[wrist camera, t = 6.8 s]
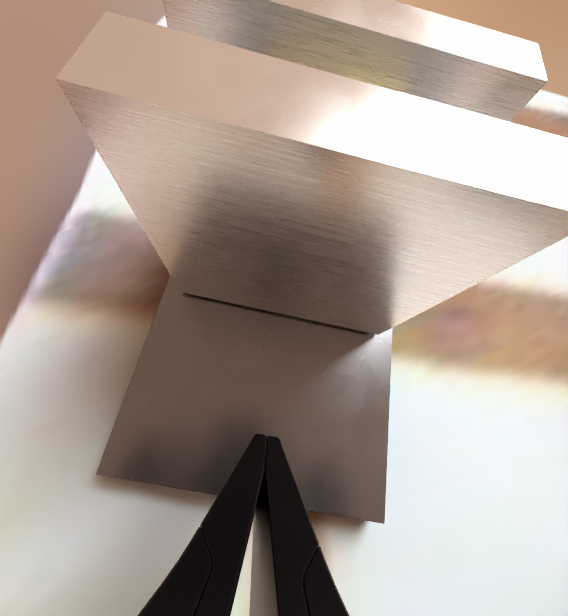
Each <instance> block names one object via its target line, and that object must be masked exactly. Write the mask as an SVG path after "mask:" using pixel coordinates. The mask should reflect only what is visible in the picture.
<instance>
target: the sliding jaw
mask: <svg viewBox="0 0 568 616" xmlns="http://www.w3.org/2000/svg"><path fill="white" fill-rule="evenodd" d="M56 80H57V82H58V84H59V86H60V87H61V89H62V91H63V92H64V94H65V96H66V98H67V99H68V101H69V103H70V104H71V106H72V108H73V109H74V111H75V113H76V115H77V116H78V118H79V120H80V121H81V123H82V125H83V126H84V128H85V130H86V132H87V133H88V135H89V137H90V139H91V140H92V142H93V144H94V145H95V147H96V149H97V151H98V152H99V154H100V156H101V157H102V159H103V161H104V162H105V164H106V166H107V168H108V169H109V171H110V173H111V174H112V176H113V178H114V180H115V181H116V183H117V185H118V186H119V188H120V190H121V192H122V193H123V195H124V197H125V198H126V200H127V202H128V204H129V205H130V207H131V209H132V210H133V212H134V214H135V215H136V217H137V219H138V221H139V222H140V224H141V226H142V227H143V229H144V231H145V233H146V234H147V236H148V238H149V239H150V241H151V243H152V245H153V246H154V248H155V250H156V251H157V253H158V255H159V256H160V258H161V260H162V262H163V263H164V265H165V267H166V268H167V270H168V272H169V274H170V275H171V277H172V279H173V280H174V282H175V284H176V286H177V287H178V289H179V291H180V292H183V293H187V294H192V295H196V296H201V297H206V298H210V299H215V300H220V301H224V302H229V303H233V304H238V305H243V306H247V307H252V308H256V309H261V310H266V311H270V312H275V313H280V314H284V315H289V316H293V317H298V318H303V319H307V320H312V321H317V322H321V323H326V324H330V325H335V326H340V327H344V328H349V329H353V330H358V331H363V332H367V333H372V334H377V335H379V334H381V333H383V332H385V331H387V330H389V329H391V328H393V327H395V326H397V325H398V324H400V323H402V322H404V321H406V320H408V319H410V318H412V317H414V316H416V315H418V314H420V313H422V312H423V311H425V310H427V309H429V308H431V307H433V306H435V305H437V304H439V303H441V302H443V301H445V300H446V299H448V298H450V297H452V296H454V295H456V294H458V293H460V292H462V291H464V290H466V289H468V288H470V287H471V286H473V285H475V284H477V283H479V282H481V281H483V280H485V279H487V278H489V277H491V276H493V275H494V274H496V273H498V272H500V271H502V270H504V269H506V268H508V267H510V266H512V265H514V264H516V263H518V262H519V261H521V260H523V259H525V258H527V257H529V256H531V255H533V254H535V253H537V252H539V251H541V250H542V249H544V248H546V247H548V246H550V245H552V244H554V243H556V242H558V241H560V240H562V239H564V238H566V237H567V236H568V138H565V137H561V136H558V135H554V134H550V133H547V132H543V131H540V130H536V129H532V128H529V127H525V126H521V125H518V124H514V123H511V122H507V121H503V120H500V119H496V118H493V117H489V116H485V115H482V114H478V113H474V112H471V111H467V110H464V109H460V108H456V107H453V106H449V105H445V104H442V103H438V102H435V101H431V100H427V99H424V98H420V97H416V96H413V95H409V94H406V93H402V92H398V91H395V90H391V89H387V88H384V87H380V86H377V85H373V84H369V83H366V82H362V81H358V80H355V79H351V78H348V77H344V76H340V75H337V74H333V73H329V72H326V71H322V70H319V69H315V68H311V67H308V66H304V65H300V64H297V63H293V62H290V61H286V60H282V59H279V58H275V57H271V56H268V55H264V54H261V53H257V52H253V51H250V50H246V49H243V48H239V47H235V46H232V45H228V44H224V43H221V42H217V41H214V40H210V39H206V38H203V37H199V36H195V35H192V34H188V33H185V32H181V31H177V30H174V29H170V28H166V27H163V26H159V25H156V24H152V23H148V22H145V21H141V20H137V19H134V18H130V17H127V16H123V15H119V14H115V13H112V12H108V11H106V12H105V14H104V15H103V17H102V18H101V19H100V20H99V22H98V23H97V24H96V26H95V27H94V28H93V30H92V31H91V32H90V33H89V35H88V36H87V37H86V39H85V40H84V41H83V43H82V44H81V46H80V47H79V48H78V49H77V51H76V52H75V53H74V55H73V56H72V57H71V59H70V60H69V61H68V62H67V64H66V65H65V66H64V68H63V69H62V71H61V72H60V73H59V74H58V76H57V77H56Z"/></svg>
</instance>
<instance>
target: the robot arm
mask: <svg viewBox="0 0 568 616" xmlns="http://www.w3.org/2000/svg"><path fill="white" fill-rule="evenodd" d="M253 518H254V526H253V549H252V571H251V594H250V616H349V614H348V612H347V610H346V608H345V605H344V603H343V601H342V599H341V597H340V594H339V592H338V590H337V588H336V586H335V583H334V581H333V578H332V576H331V573H330V571H329V568H328V566H327V563H326V561H325V558H324V555H323V553H322V550H321V547H318V546H319V542H318V540H317V537H316V534H315V532H314V529H313V526H312V524H311V521H310V518H309V516H308V513H307V510H306V508H305V505H304V502H303V500H302V497H301V494H300V491H299V489H298V486H297V483H296V481H295V478H294V475H293V473H292V470H291V467H290V465H289V462H288V459H287V457H286V454H285V451H284V449H283V446H282V443H281V441H280V439H279V438H278V437H275V436H268V437H267V436H266V435H264V434H259V433H256V434H255V435H254V437H253V438H252V440H251V442H250V443H249V445H248V447H247V448H246V450H245V452H244V453H243V455H242V457H241V458H240V460H239V462H238V463H237V465H236V467H235V468H234V470H233V472H232V473H231V475H230V477H229V478H228V480H227V482H226V483H225V485H224V487H223V488H222V490H221V492H220V493H219V495H218V497H217V498H216V500H215V502H214V503H213V505H212V507H211V508H210V510H209V512H208V513H207V515H206V517H205V518H204V520H203V522H202V523H201V525H200V527H199V528H198V530H197V531H196V533H195V535H194V536H193V538H192V539H191V541H190V543H189V544H188V546H187V547H186V549H185V551H184V552H183V554H182V555H181V557H180V558H179V560H178V561H177V563H176V564H175V566H174V567H173V568H172V570H171V571H170V573H169V574H168V575H167V577H166V578H165V580H164V581H163V583H162V584H161V585H160V587H159V588H158V589H157V591H156V592H155V593H154V595H153V596H152V597H151V599H150V600H149V601H148V603H147V604H146V605H145V607H144V608H143V609H142V611H141V612H140V613H139V615H138V616H230V614H231V610H232V606H233V602H234V597H235V593H236V589H237V585H238V581H239V576H240V572H241V568H242V564H243V560H244V556H245V551H246V547H247V543H248V539H249V535H250V530H251V526H252V522H253Z"/></svg>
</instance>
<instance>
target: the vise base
mask: <svg viewBox="0 0 568 616" xmlns="http://www.w3.org/2000/svg"><path fill="white" fill-rule="evenodd" d="M162 1H163V6H164V11H165V16H166V21H167V26H168V28H170V29H174V30H177V31H181V32H185V33H188V34H192V35H195V36H199V37H203V38H206V39H210V40H214V41H217V42H221V43H224V44H228V45H232V46H235V47H239V48H243V49H246V50H250V51H253V52H257V53H261V54H264V55H268V56H271V57H275V58H279V59H282V60H286V61H290V62H293V63H297V64H300V65H304V66H308V67H311V68H315V69H319V70H322V71H326V72H329V73H333V74H337V75H340V76H344V77H348V78H351V79H355V80H358V81H362V82H366V83H369V84H373V85H377V86H380V87H384V88H387V89H391V90H395V91H398V92H402V93H406V94H409V95H413V96H416V97H420V98H424V99H427V100H431V101H435V102H438V103H442V104H445V105H449V106H453V107H456V108H460V109H464V110H467V111H471V112H474V113H478V114H482V115H485V116H489V117H493V118H496V119H500V120H503V121H507V122H510V121H511V120H512V119H513V118H514V117H515V116H516V115H517V114H518V113H519V111H520V110H521V109H522V108H523V107H524V106H525V105H526V104H527V103H528V102H529V101H530V100H531V99H532V98H533V96H534V95H535V94H536V93H537V92H538V91H539V90H540V89H541V88H542V87H543V86H544V85H545V84H546V83H547V81H548V80H547V77H546V73H545V69H544V65H543V61H542V57H541V53H540V49H539V46H538V44H537V43H534V42H531V41H527V40H524V39H520V38H517V37H514V36H510V35H507V34H504V33H501V32H497V31H494V30H491V29H487V28H483V27H480V26H477V25H474V24H470V23H467V22H463V21H460V20H457V19H454V18H450V17H447V16H443V15H440V14H437V13H433V12H430V11H426V10H423V9H420V8H416V7H413V6H410V5H406V4H403V3H399V2H396V1H393V0H162ZM391 347H392V328H391V329H389V330H387V331H385V332H383V333H381V334H379V335H377V334H372V333H367V332H363V331H358V330H353V329H349V328H344V327H340V326H335V325H330V324H326V323H321V322H317V321H312V320H307V319H303V318H298V317H293V316H289V315H284V314H280V313H275V312H270V311H266V310H261V309H256V308H252V307H247V306H243V305H238V304H233V303H229V302H224V301H220V300H215V299H210V298H206V297H201V296H196V295H192V294H187V293H183V292H180V291H179V289H178V287H177V286H176V284H175V282H174V280H173V279H172V277H171V275H170V277H169V279H168V282H167V285H166V288H165V290H164V293H163V296H162V298H161V301H160V304H159V306H158V309H157V312H156V314H155V317H154V320H153V323H152V325H151V328H150V331H149V333H148V336H147V339H146V341H145V344H144V347H143V350H142V352H141V355H140V358H139V360H138V363H137V366H136V368H135V371H134V374H133V377H132V379H131V382H130V385H129V387H128V390H127V393H126V395H125V398H124V401H123V403H122V406H121V409H120V412H119V414H118V417H117V420H116V422H115V425H114V428H113V430H112V433H111V436H110V439H109V441H108V444H107V447H106V449H105V452H104V455H103V457H102V460H101V463H100V466H99V468H98V471H97V474H98V475H103V476H109V477H115V478H121V479H127V480H133V481H138V482H144V483H150V484H156V485H162V486H168V487H173V488H179V489H185V490H191V491H197V492H203V493H208V494H214V495H219V493H220V492H221V490H222V488H223V487H224V485H225V483H226V482H227V480H228V478H229V477H230V475H231V473H232V472H233V470H234V468H235V467H236V465H237V463H238V462H239V460H240V458H241V457H242V455H243V453H244V452H245V450H246V448H247V447H248V445H249V443H250V442H251V440H252V438H253V437H254V435H255V434H256V433H259V434H264V435H266V436H267V437H268V436H275V437H278V438H279V439H280V441H281V443H282V446H283V449H284V451H285V454H286V457H287V459H288V462H289V465H290V467H291V470H292V473H293V475H294V478H295V481H296V483H297V486H298V489H299V491H300V494H301V497H302V500H303V502H304V505H305V508H306V510H307V511H313V512H319V513H325V514H331V515H337V516H342V517H348V518H354V519H360V520H366V521H371V522H377V523H383V524H384V519H385V494H386V470H387V445H388V421H389V396H390V371H391Z"/></svg>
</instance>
